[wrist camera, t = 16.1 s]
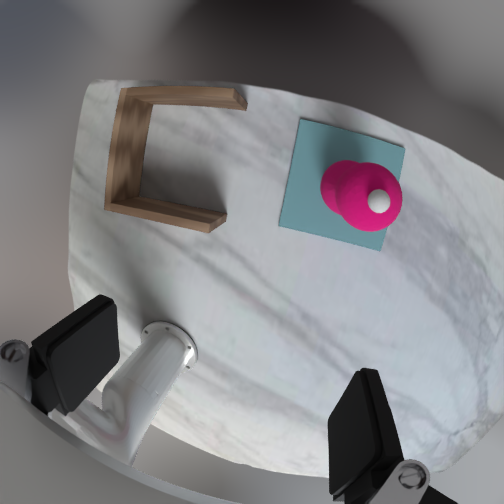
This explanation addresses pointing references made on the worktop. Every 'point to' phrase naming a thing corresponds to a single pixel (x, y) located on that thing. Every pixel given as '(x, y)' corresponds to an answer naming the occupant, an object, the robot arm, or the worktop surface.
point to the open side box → (133, 148)
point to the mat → (310, 174)
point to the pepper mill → (362, 194)
